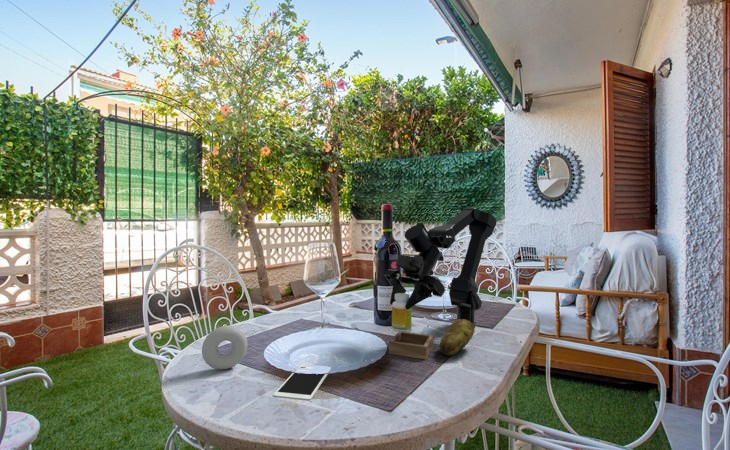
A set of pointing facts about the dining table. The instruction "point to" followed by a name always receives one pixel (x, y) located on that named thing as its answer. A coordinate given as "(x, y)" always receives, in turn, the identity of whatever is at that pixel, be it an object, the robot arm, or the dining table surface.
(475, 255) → the robot arm
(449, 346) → the potato
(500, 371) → the dining table surface
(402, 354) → the open wooden box
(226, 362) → the donut
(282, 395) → the cell phone
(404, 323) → the supplement bottle
